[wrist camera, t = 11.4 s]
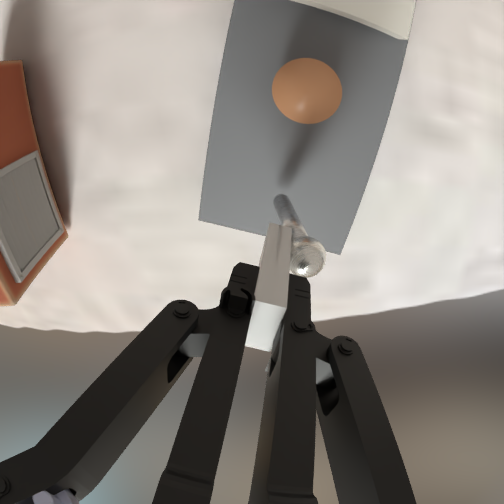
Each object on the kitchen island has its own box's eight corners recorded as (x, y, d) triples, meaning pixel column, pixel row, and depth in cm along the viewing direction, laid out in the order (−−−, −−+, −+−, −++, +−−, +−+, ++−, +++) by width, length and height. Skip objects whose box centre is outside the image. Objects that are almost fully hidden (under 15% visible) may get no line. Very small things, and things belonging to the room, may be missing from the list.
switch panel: (257, -57, 14) (248, -78, 11) (410, -19, 14) (428, -32, 10) (206, 207, 27) (191, 230, 24) (337, 239, 27) (341, 266, 24)
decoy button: (281, 53, 16) (279, 50, 14) (344, 69, 16) (349, 68, 14) (269, 111, 18) (265, 114, 17) (329, 126, 18) (332, 131, 17)
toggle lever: (268, 182, 21) (296, 250, 15) (298, 186, 22) (337, 253, 15) (261, 210, 22) (284, 285, 16) (290, 213, 23) (323, 287, 16)
